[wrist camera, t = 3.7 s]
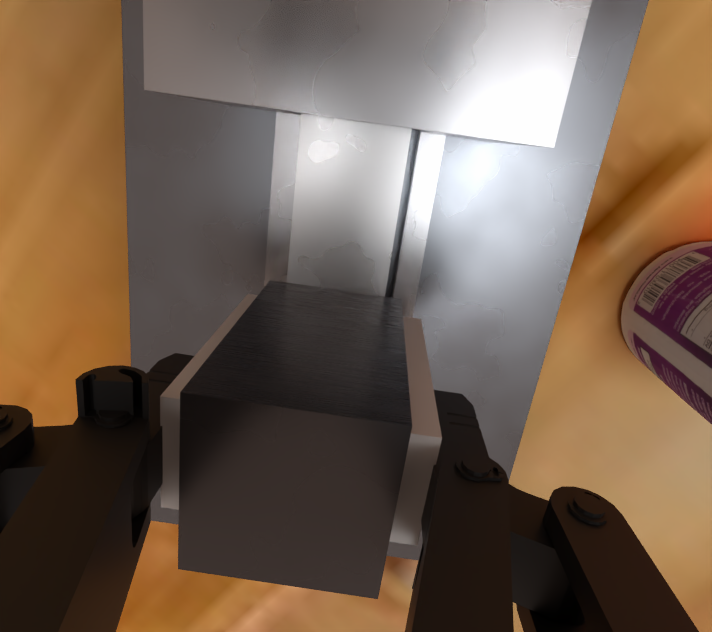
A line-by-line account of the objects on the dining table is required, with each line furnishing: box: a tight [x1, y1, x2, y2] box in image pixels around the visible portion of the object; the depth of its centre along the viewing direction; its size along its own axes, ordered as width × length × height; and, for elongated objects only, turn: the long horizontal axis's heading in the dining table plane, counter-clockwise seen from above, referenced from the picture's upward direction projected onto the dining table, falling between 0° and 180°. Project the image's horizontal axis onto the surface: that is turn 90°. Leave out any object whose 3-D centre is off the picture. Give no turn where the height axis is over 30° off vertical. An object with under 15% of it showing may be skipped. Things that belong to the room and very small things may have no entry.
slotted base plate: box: [121, 0, 649, 560], centre depth 16 cm, size 28×16×8 cm, turn 172°
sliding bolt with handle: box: [178, 113, 412, 599], centre depth 12 cm, size 16×4×10 cm, turn 172°
